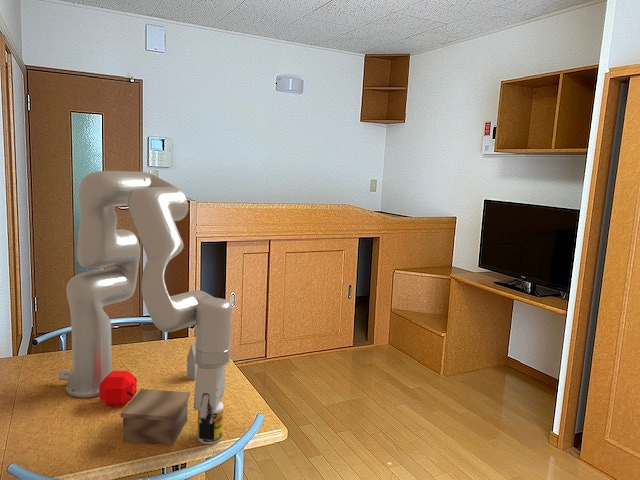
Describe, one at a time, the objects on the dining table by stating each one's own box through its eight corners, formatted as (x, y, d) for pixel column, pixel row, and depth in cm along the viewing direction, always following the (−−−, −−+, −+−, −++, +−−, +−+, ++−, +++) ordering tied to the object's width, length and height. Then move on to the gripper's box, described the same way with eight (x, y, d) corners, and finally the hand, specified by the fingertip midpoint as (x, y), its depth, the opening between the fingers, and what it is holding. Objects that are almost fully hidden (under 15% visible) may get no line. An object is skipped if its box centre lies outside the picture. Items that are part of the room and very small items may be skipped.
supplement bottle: (202, 448, 110) (203, 404, 108) (193, 435, 114) (194, 393, 113) (226, 441, 113) (227, 398, 111) (216, 429, 117) (218, 388, 116)
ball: (130, 410, 124) (130, 381, 123) (96, 409, 123) (96, 380, 122) (138, 395, 132) (138, 367, 131) (107, 394, 131) (107, 367, 130)
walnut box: (120, 443, 110) (120, 413, 109) (140, 416, 121) (141, 388, 120) (174, 446, 110) (174, 416, 109) (189, 419, 121) (189, 392, 120)
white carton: (213, 373, 148) (214, 341, 146) (194, 380, 142) (195, 347, 141) (205, 370, 150) (206, 338, 148) (186, 376, 145) (187, 343, 143)
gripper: (205, 339, 119) (203, 410, 122) (184, 369, 102) (182, 451, 105) (236, 342, 119) (234, 413, 122) (221, 372, 102) (218, 454, 105)
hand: (210, 430), depth 113 cm, fingers closed on supplement bottle, 5 cm apart
